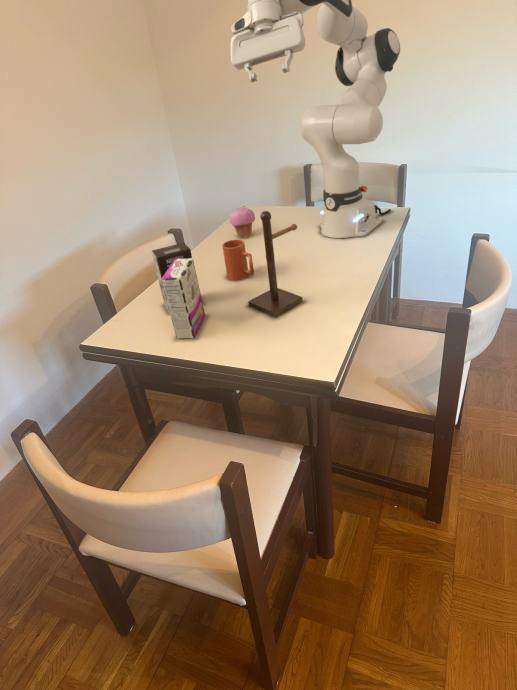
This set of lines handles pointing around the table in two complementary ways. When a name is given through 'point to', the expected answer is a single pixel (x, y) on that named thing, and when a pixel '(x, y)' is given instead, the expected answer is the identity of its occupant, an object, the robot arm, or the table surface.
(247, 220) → the cupcake
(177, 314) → the candy bar box
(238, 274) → the mug
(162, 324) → the table surface
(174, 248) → the coffee box
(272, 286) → the mug stand
